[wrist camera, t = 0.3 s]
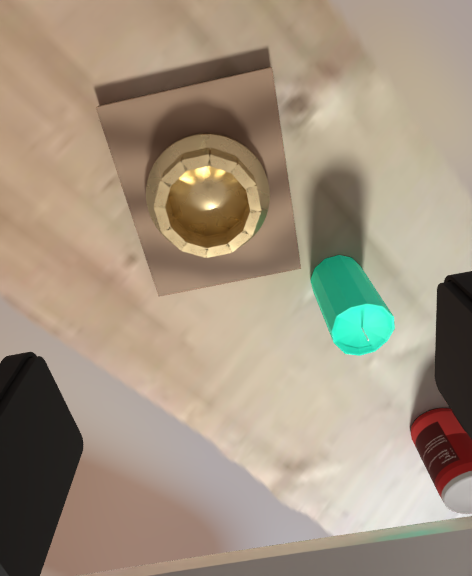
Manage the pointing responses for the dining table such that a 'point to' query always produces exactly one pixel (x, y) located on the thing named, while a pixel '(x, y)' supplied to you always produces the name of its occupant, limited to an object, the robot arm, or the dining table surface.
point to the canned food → (446, 456)
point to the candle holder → (207, 194)
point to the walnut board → (192, 120)
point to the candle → (351, 306)
